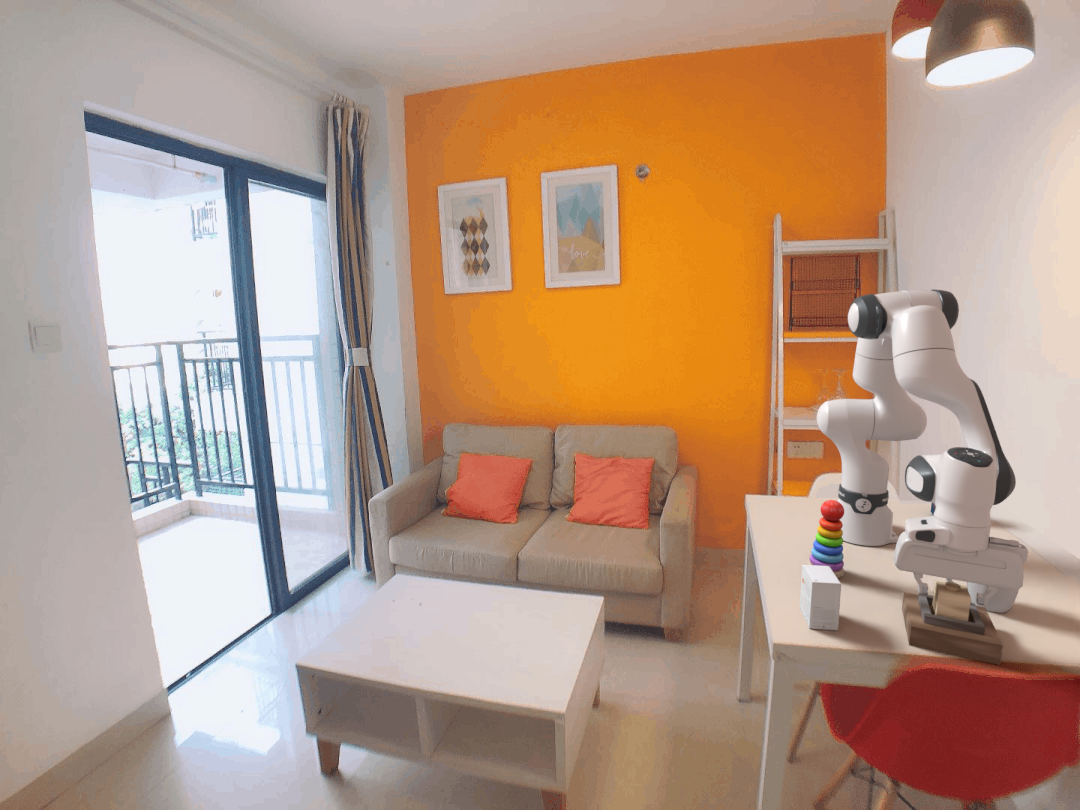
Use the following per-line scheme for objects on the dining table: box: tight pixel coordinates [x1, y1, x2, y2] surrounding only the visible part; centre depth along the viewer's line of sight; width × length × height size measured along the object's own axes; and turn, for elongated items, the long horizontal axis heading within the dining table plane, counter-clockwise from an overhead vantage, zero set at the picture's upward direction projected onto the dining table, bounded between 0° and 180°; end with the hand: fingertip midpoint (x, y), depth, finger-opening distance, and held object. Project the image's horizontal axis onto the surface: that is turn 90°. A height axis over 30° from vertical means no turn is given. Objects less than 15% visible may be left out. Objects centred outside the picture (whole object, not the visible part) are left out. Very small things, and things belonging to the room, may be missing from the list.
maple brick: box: [932, 580, 972, 621], centre depth 110 cm, size 5×5×7 cm
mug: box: [945, 578, 1020, 614], centre depth 121 cm, size 13×9×10 cm
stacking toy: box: [807, 499, 845, 579], centre depth 135 cm, size 8×8×19 cm
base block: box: [901, 591, 1004, 666], centre depth 111 cm, size 14×14×6 cm
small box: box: [799, 564, 842, 631], centre depth 116 cm, size 8×6×10 cm
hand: (951, 598), depth 110 cm, fingers open, 8 cm apart
